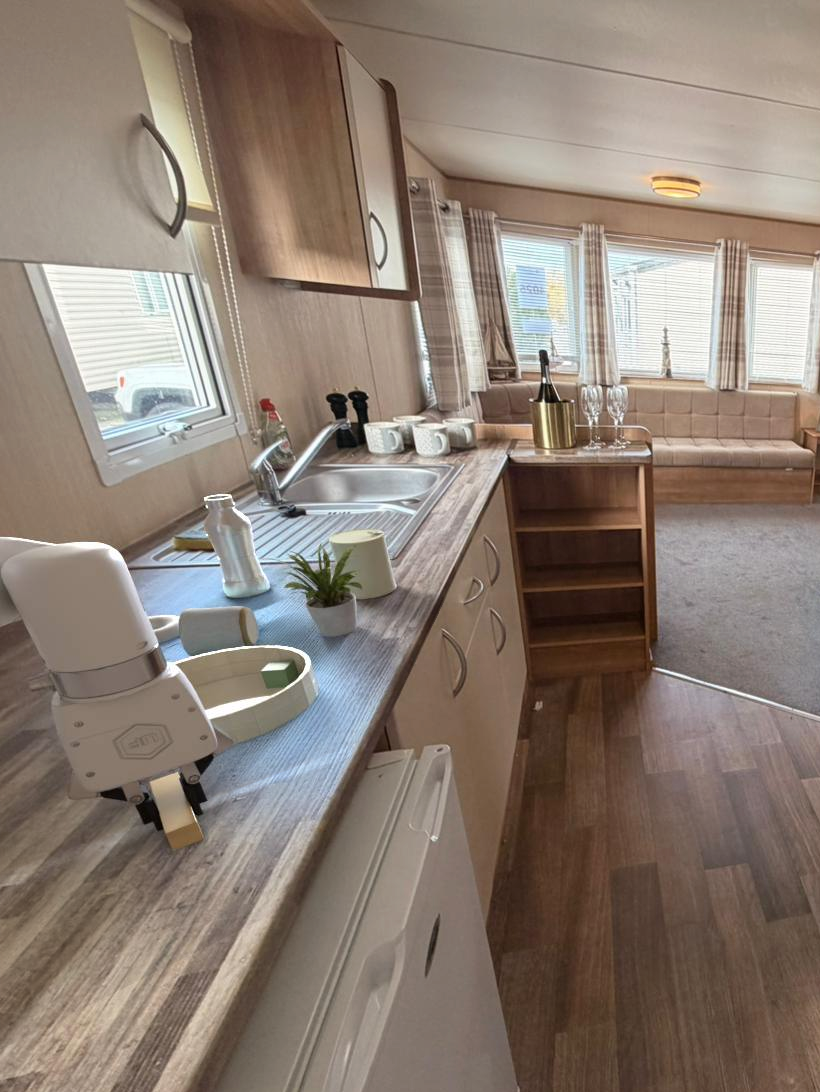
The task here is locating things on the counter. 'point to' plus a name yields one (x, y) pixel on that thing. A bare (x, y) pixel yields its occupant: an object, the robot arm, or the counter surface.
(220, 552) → the plastic bottle
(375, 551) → the cream tapered cylinder
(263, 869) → the counter surface
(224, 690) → the bowl
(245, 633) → the grey short cylinder
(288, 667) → the sage block
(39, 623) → the robot arm
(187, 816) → the long ochre block
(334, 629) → the house plant
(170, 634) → the donut
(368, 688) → the counter surface
